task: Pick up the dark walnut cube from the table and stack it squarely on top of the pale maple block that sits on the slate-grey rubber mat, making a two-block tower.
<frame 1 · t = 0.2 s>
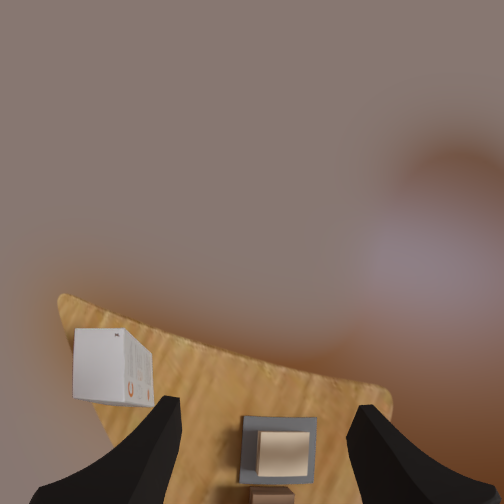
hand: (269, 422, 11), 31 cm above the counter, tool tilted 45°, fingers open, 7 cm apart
mat: (278, 451, 35), on the counter
small box: (132, 380, 39), on the counter
maple block: (279, 451, 35), resting on mat
walnut block: (267, 501, 31), on the counter
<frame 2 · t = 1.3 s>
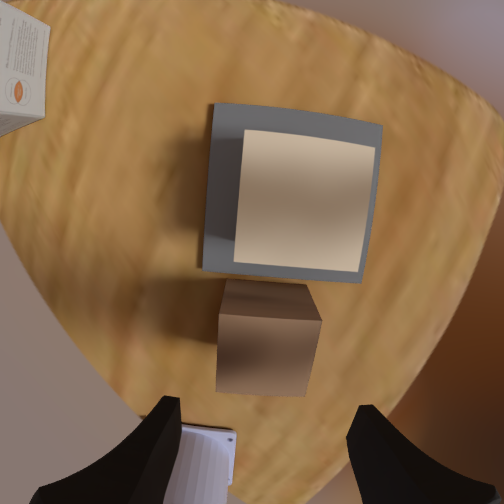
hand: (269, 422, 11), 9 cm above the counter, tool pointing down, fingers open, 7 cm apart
mat: (293, 194, 18), on the counter
small box: (20, 83, 16), on the counter
maple block: (294, 195, 17), resting on mat
walnut block: (263, 316, 20), on the counter
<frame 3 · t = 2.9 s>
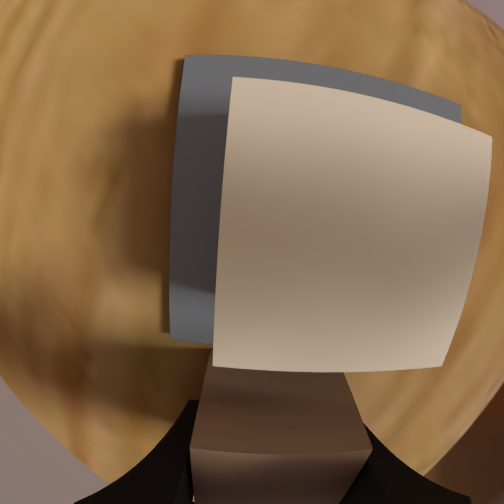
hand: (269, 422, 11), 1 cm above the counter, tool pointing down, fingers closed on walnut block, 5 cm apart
mat: (323, 214, 10), on the counter
maple block: (326, 216, 10), resting on mat
walnut block: (267, 400, 12), on the counter, touching gripper
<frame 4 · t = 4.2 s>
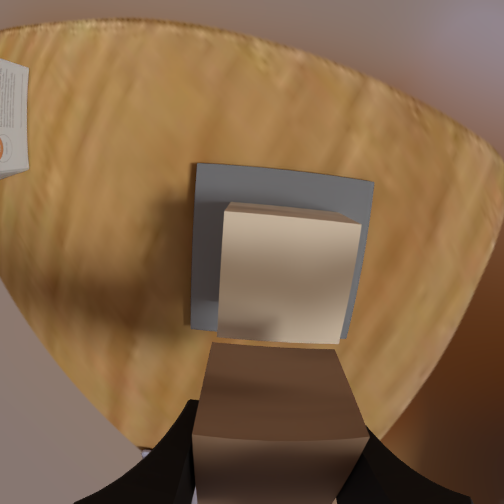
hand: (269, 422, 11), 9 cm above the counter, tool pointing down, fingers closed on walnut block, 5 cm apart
mat: (279, 257, 18), on the counter
small box: (3, 129, 16), on the counter
maple block: (279, 259, 18), resting on mat
walnut block: (267, 393, 13), point 7 cm above the counter, touching gripper
when the fingers open (7 cm above the counter, at t = 5.7 s): walnut block stays where it is, resting on maple block.
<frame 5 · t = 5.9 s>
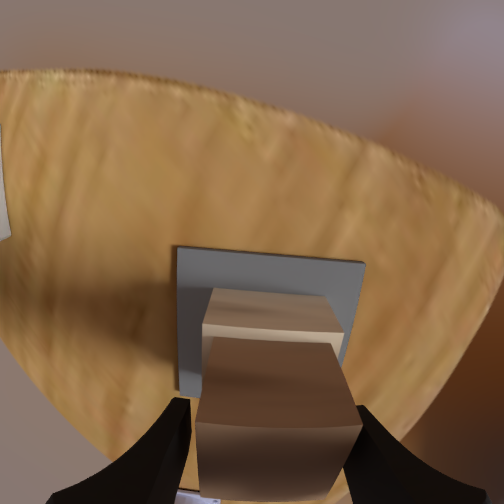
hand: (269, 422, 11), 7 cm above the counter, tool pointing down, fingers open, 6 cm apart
mat: (264, 337, 17), on the counter
maple block: (264, 340, 17), resting on mat, touching walnut block
walnut block: (266, 385, 13), point 4 cm above the counter, touching maple block
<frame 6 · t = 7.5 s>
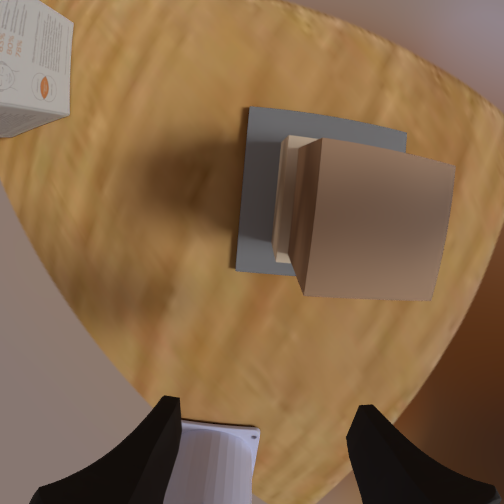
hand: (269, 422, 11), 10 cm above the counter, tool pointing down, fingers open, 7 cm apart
mat: (324, 197, 18), on the counter
small box: (41, 80, 16), on the counter
maple block: (326, 198, 18), resting on mat, touching walnut block
walnut block: (345, 207, 14), point 4 cm above the counter, touching maple block
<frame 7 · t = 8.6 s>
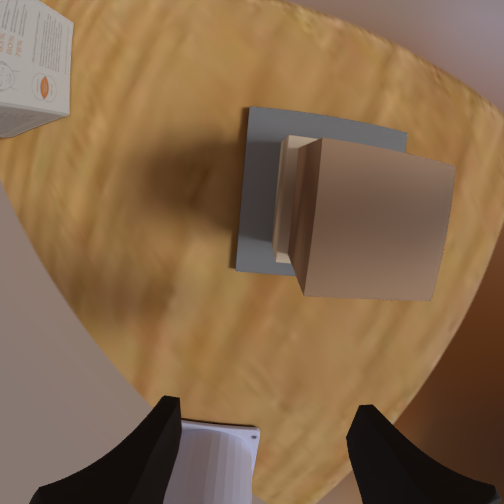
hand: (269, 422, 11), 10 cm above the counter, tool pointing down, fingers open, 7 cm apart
mat: (324, 197, 18), on the counter
small box: (41, 80, 16), on the counter
maple block: (326, 198, 18), resting on mat, touching walnut block
walnut block: (345, 207, 14), point 4 cm above the counter, touching maple block
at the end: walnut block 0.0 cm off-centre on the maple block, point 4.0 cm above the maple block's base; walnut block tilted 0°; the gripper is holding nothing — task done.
